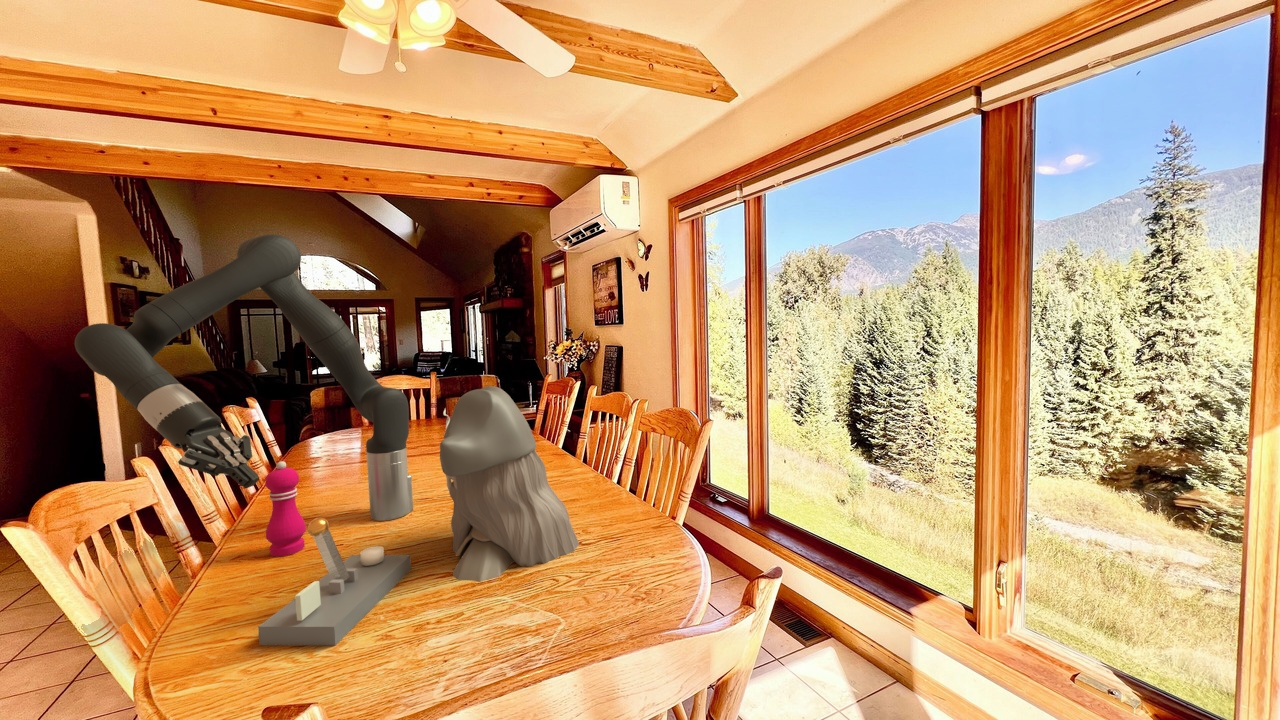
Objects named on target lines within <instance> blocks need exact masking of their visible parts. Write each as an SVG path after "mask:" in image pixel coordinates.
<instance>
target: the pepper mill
mask: <svg viewBox="0 0 1280 720" xmlns="http://www.w3.org/2000/svg"><path fill="white" fill-rule="evenodd" d="M275 467H276V469H274V470H272V471H270V472H269V473H268V474H267V475H266V478H265V487H266V489H267V490H269V491H270V492H269V493H268V495H269V500H271V502H272V503H271V504H272V511H271V515H270V518H269V522H268V524H267V527H266V530H265V538H266V540H267V541H268V542H269V543H270V546H269V554H270V556H271V557H278V558H279V557H280V558H281V557H287V556H291V555H294V554H297V553H299V552H301V551H302V550H303V549H304V548H305V547H306V546H305V545H306V544H305V538H303V535H304V534H305V533H306V530H307V527H306V526H307V525H306V521H305V519H304V518H303V516H302V514H301V513H300V512H299V509H298V507H297V504H296V497H297V495H298V492H297V491H298V488H297V487H296V486H297V485H299V481H300V477H299V474H298V472H297V471H296V470H295V469H293V468H290V467H287V463H286V461H278V462H277V463H276V465H275Z"/></svg>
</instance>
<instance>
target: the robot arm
mask: <svg viewBox="0 0 1280 720" xmlns="http://www.w3.org/2000/svg"><path fill="white" fill-rule="evenodd" d="M236 256H237V257H236V258H235V259H233V260H232V261H231V262H229V263H227V264H225V265H223V266H221V267H219V268H218V269H216V270H214V271H212V272H211V273H208V274H206V275H203V276H201V277H199V278H196V279H194V280H191V281H189V282H188V283H184V284H183V285H181V286H179V287H177V288H176V287H175V288H173V289H172V290H171V291H168V292H166V293H165V294H162V295H161V296H159V297H158V298H157V297H156V298H155V299H154V300H152V301H150V302H148V303H147V304H145V305H143V306H141V307H139V308H138V309H137V310H136V311H135V312H134V314H133V322H132V324H131V325H130V326H129V327H128V328H126V329H125V328H123V327H122V326H119V325H116V324H112V323H102V322H101V323H99V322H98V323H93V324H89V325H87V326H85V327H83V328H82V329H81V330H80V331H79V332H78V333H77V334H76V336H75V338H74V348H75V351H76V352H77V354H78V355H79V357H80V358H81V359H82V360H83V361H84V362H85V364H86V365H87V366H88V368H90V370H92V371H93V372H94V373H96V374H98V375H100V376H103V377H105V378H106V379H108V381H110V383H112V384H113V386H114V387H115V388H116V390H117V391H118V392H119V394H120V395H121V396H122V397H123V398H124V399H125V400H126V401H127V402H128V403H129V404H130V405H131V406H133V408H135V410H137V411H138V412H139V413H140V415H141V416H142V417H143V419H144V420H145V421H146V422H147V423H148V424H149V425H150V426H151V427H152V428H153V429H155V431H156V432H158V433H159V434H160V435H161V436H162V437H163V439H165V440H166V441H167V442H169V444H170V445H172V447H174V448H176V449H180V450H182V452H183V453H184V454H183V455H182V457H181V458H180V459H179V460H178V462H177V463H178V465H180V466H183V467H186V468H189V469H193V470H194V471H195V470H196V471H199V472H201V473H205V474H208V475H211V476H214V477H218V476H220V475H222V474H223V475H224V476H230V477H231V479H233V480H234V482H236V483H237V484H238V486H241V487H242V488H244V489H248V488H250V487H253V486H255V485H256V484H257V483H258V482H259V481H260V476H259V474H258V473H257V472H256V471H255V470H254V469H253V468H252V467H250V466H249V465H248V464H247V463H248V462H249V461H250V460H251V459H252V458H253V453H252V444H251V443H252V442H251V438H250V436H248V435H244V434H243V435H242V436H241V437H239V436H234V435H233V434H232V432H230V431H228V430H226V429H225V428H223V426H222V419H221V417H220V416H219V415H217V414H216V413H215V412H214V411H213V410H212V409H211V408H210V407H209V406H208V405H207V404H206V403H205V402H204V401H203V400H202V399H201V398H199V397H198V396H197V395H196V394H195V393H194V391H191V390H190V389H188V388H187V387H186V386H184V385H183V384H182V383H181V382H180V381H178V380H177V379H176V378H175V376H173V375H172V374H171V373H170V372H169V371H168V370H166V369H165V368H163V366H161V365H160V364H159V363H158V362H157V361H156V360H155V358H154V357H156V355H158V354H159V352H161V351H162V350H163V349H164V348H165V347H166V346H167V345H168V344H169V343H170V341H172V340H173V339H175V338H176V337H178V336H180V335H181V334H184V333H185V332H186V331H188V330H189V329H191V328H193V327H194V326H196V325H198V324H200V323H201V322H202V321H205V320H206V319H207V318H209V317H211V316H212V315H214V314H215V313H217V312H218V311H220V310H221V309H223V308H225V307H226V306H228V305H230V304H231V303H233V302H234V301H236V300H237V299H239V298H241V297H243V296H245V295H246V294H248V293H251V292H252V291H254V290H256V289H259V288H260V289H261V290H262V292H264V294H266V295H267V296H268V297H269V298H270V300H272V302H273V303H274V304H275V305H276V306H277V308H278V309H279V311H281V313H282V314H283V316H284V317H285V318H286V320H287V321H288V323H290V324H291V326H292V327H293V328H294V330H295V331H296V332H297V334H299V336H300V337H301V339H302V340H303V341H304V343H305V344H306V345H307V347H308V348H309V349H310V350H311V352H313V354H314V355H315V357H316V358H318V359H319V361H320V362H321V363H322V364H323V365H324V366H325V368H326V369H327V370H328V372H330V374H331V375H332V376H333V377H334V378H335V380H336V381H337V382H338V384H340V386H342V388H343V389H344V391H345V392H346V394H347V395H348V398H349V399H350V400H351V402H352V403H353V405H354V407H355V409H356V410H357V411H358V413H359V415H360V416H362V418H363V419H365V420H367V421H368V422H371V423H372V425H373V426H372V428H373V431H372V436H371V437H370V438H368V439H367V440H366V443H365V448H366V450H365V451H366V463H367V464H366V465H367V466H366V467H367V481H368V482H367V483H368V499H369V512H370V519H371V520H373V521H378V522H379V521H380V522H381V521H392V520H396V519H399V518H402V517H405V516H406V515H408V514H409V513H410V512H412V511H414V499H413V496H414V495H413V480H412V478H413V477H412V475H411V474H409V473H408V454H407V440H408V438H409V434H410V427H409V426H410V411H409V410H410V409H409V402H408V398H407V396H406V395H405V393H404V392H403V391H402V390H401V389H397V388H393V387H384V386H383V385H382V384H380V382H379V381H378V380H377V379H376V378H375V377H374V376H373V374H372V373H371V372H370V370H369V369H368V368H367V365H366V363H365V360H364V358H363V354H362V350H361V345H359V344H360V343H359V342H358V339H357V338H356V336H355V335H354V333H353V332H352V331H351V329H350V328H349V326H348V325H347V324H346V323H345V321H344V319H342V318H341V317H340V315H339V314H338V313H336V312H335V311H334V310H333V309H332V308H331V307H329V306H328V305H327V304H326V303H324V302H323V301H322V300H320V299H319V298H318V297H317V296H315V295H314V294H313V293H312V292H310V291H309V289H307V288H306V286H305V285H304V284H303V283H302V281H301V280H300V279H299V276H298V275H297V274H296V271H297V270H298V269H299V267H300V264H301V262H302V261H301V260H302V255H301V251H300V249H299V247H298V246H297V244H295V242H294V241H293V240H291V239H289V238H287V237H286V236H282V235H281V234H280V235H279V234H264V235H260V236H257V237H252V238H249V239H247V240H245V241H243V242H242V243H240V245H239V246H238V249H237V252H236Z"/></svg>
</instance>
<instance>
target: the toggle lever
mask: <svg viewBox="0 0 1280 720" xmlns="http://www.w3.org/2000/svg"><path fill="white" fill-rule="evenodd" d="M307 532H308V534H309V535H310V536H312V537H313V539H314V542H315V544H316V547H317V549H318V552H319V553H320V555H321V558H322V560H323V563H324V565H325V567H326V570H327V573H329V574H330V577H331V579H332V580H344V581H345V580H346V579H347V578H349V574H348V572H347V570H346V568H345V565H344V563H343V562H344V560H343V559H342V557H341V554H340V552H339V550H338V546H337V545H336V542H335V540H334V539H333V535H332V534H331V531H330V522H329V521H328V520H327V519H326V518H324V517H316V518H313V519H312V520H311V521H310V522H309V523H308V525H307Z"/></svg>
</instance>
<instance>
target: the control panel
mask: <svg viewBox="0 0 1280 720" xmlns="http://www.w3.org/2000/svg"><path fill="white" fill-rule="evenodd" d="M411 557H412V556H411V554H384V560H383V561H382V562H380V563H378V564H375V565H369V566H365V565H362V564H361V556H360V554H359V555H358V554H354V555H350V556H348V558H346V559H345V560H343V563H344V565H345V568H346V570H347V572H348V574H349V578H347V579H346V580H345V581H344V580H332V579H331V577H330V574H329V572H327V574H325V575H323V576H322V577H321V578H320V579H319V580H318V581H319V586H320V600H321V605H320V606H319V607H318V608H316V609H315V610H314V611H313V612H312V613H310V614H309V615H308V616H307V617H306V618H304V619H303V620H302V621H297V614H296V600H295V598H294V599H293V600H291V601H290V602H288V603H287V604H286V605H285V606H284V607H282V608H281V609H279V610H278V611H277V612H276V613H275V612H274V614H273V615H271V617H268V618H267V619H266V620H265V621H263V623H260V625H259V626H257V627H258V639H259V640H258V641H259V646H337V645H338V643H340V642H341V641H342V640H343V638H344V637H346V635H348V634H349V633H350V632H351V630H352V629H354V628H355V627H356V626H357V625H358V624H359V623H360V622H361V621H362V620H363V619H364V618H365V616H366V615H368V614H369V613H370V612H371V610H372V609H374V608H375V607H376V606H377V605H378V604H379V603H380V601H382V600H383V598H384V597H385V596H386V595H388V594H389V592H391V591H392V589H393V588H395V586H396V585H398V584H399V582H401V581H402V579H403V578H404V577H406V575H407V574H409V572H410V571H412V561H411V560H412V559H411Z"/></svg>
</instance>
